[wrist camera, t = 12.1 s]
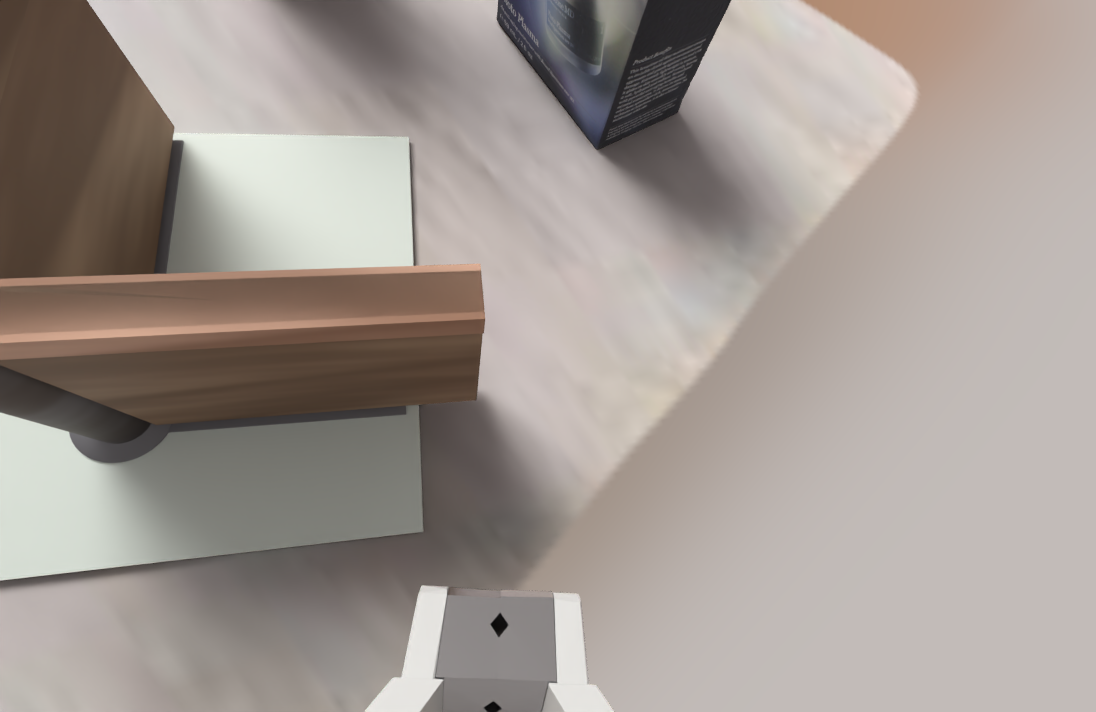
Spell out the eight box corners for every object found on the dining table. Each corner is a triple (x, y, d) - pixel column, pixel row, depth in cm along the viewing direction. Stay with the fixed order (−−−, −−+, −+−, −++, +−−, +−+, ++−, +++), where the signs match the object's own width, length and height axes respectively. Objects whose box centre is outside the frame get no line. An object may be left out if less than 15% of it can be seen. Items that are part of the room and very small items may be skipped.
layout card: (-324, 618, 17) (-342, 619, 16) (-141, 132, 23) (-151, 125, 22) (423, 531, 21) (422, 531, 20) (409, 141, 27) (408, 135, 26)
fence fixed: (92, 447, 20) (-235, 364, 11) (142, 138, 24) (-54, -110, 15) (157, 443, 20) (-104, 357, 11) (194, 139, 25) (34, -102, 16)
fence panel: (476, 404, 22) (485, 318, 13) (155, 430, 20) (-73, 346, 11) (473, 368, 22) (480, 263, 14) (160, 389, 20) (-55, 280, 12)
